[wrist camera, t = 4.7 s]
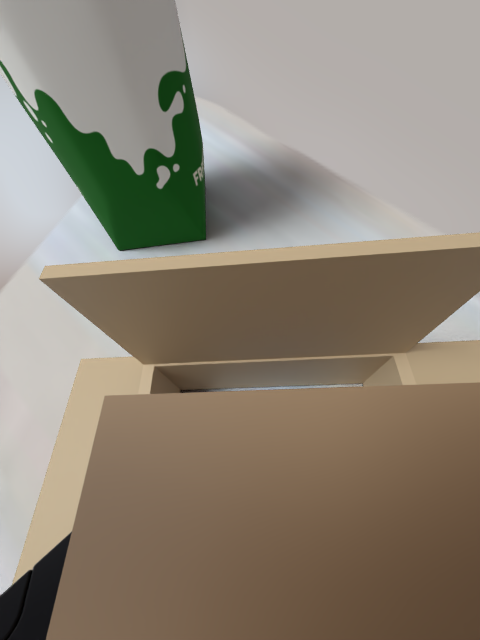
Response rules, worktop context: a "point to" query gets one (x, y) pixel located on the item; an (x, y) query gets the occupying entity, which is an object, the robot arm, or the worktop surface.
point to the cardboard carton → (254, 333)
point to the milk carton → (113, 109)
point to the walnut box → (279, 517)
